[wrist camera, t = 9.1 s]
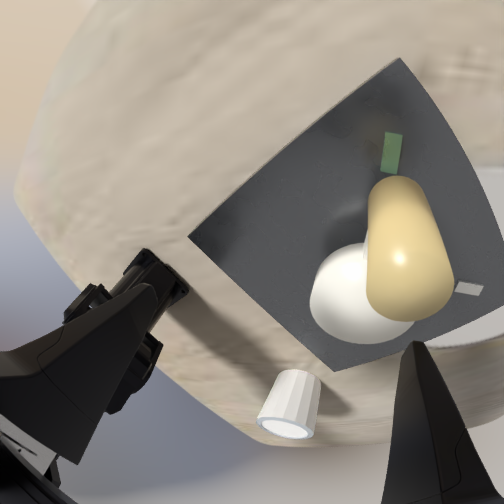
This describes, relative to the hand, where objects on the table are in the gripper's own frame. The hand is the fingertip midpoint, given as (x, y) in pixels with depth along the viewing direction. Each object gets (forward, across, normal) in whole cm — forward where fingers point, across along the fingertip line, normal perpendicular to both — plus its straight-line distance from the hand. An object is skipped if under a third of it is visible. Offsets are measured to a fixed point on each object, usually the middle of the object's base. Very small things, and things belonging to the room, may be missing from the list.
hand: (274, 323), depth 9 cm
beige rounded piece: (+9, -4, +3) cm, 10 cm away
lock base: (+13, -4, +6) cm, 14 cm away
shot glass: (+13, -1, +26) cm, 29 cm away
